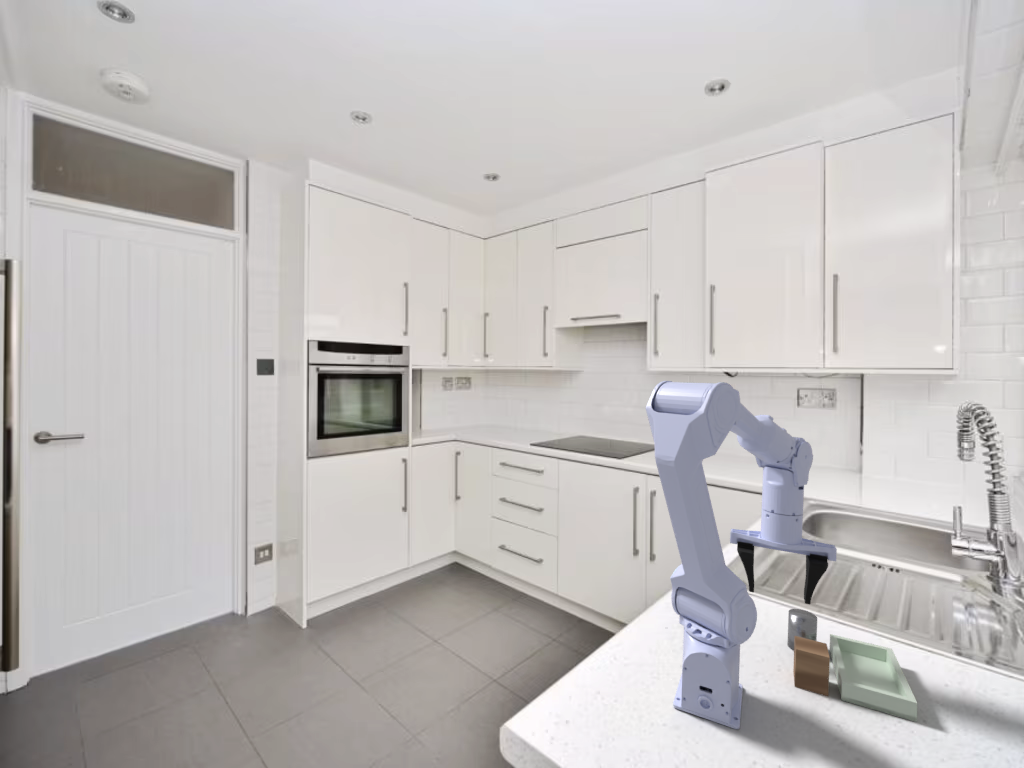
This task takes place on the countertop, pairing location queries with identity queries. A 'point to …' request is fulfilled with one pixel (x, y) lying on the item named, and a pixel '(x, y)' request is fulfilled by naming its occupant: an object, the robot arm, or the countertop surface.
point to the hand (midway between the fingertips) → (778, 595)
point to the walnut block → (811, 665)
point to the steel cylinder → (801, 626)
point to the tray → (871, 677)
